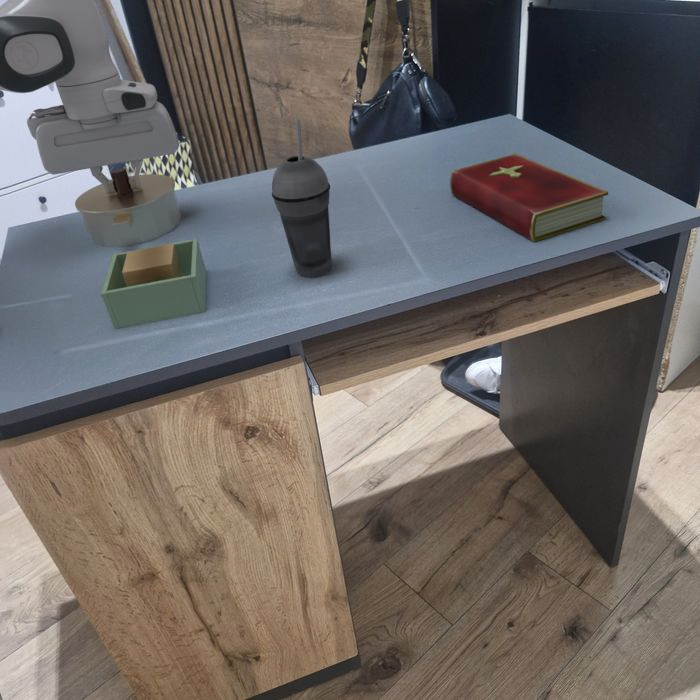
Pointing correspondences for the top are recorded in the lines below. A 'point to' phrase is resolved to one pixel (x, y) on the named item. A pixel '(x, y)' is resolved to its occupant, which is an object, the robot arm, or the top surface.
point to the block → (151, 265)
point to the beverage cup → (304, 211)
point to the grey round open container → (134, 223)
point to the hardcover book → (528, 196)
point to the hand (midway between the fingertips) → (124, 190)
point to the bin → (157, 290)
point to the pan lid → (124, 194)
